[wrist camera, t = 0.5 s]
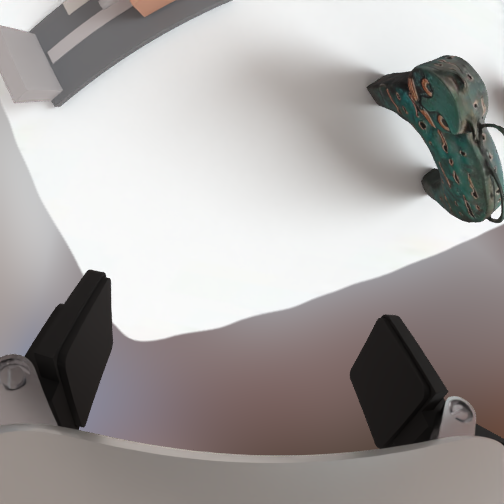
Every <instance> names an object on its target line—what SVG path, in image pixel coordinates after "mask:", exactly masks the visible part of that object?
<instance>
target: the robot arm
mask: <svg viewBox="0 0 504 504" xmlns="http://www.w3.org/2000/svg"><path fill="white" fill-rule="evenodd" d="M112 345H113V335H112V312H111V280H110V278H106V274H105V273H104V272H99V271H94V270H88V271H87V272H86V273H85V275H84V276H83V278H82V279H81V281H80V282H79V283H78V285H77V286H76V288H75V289H74V290H73V292H72V293H71V295H70V296H69V298H68V299H67V301H66V302H65V304H59V305H58V306H57V307H56V308H55V310H54V311H53V313H52V314H51V315H50V317H49V319H48V320H47V322H46V323H45V325H44V326H43V328H42V329H41V331H40V332H39V334H38V336H37V337H36V339H35V340H34V342H33V343H32V345H31V347H30V348H29V350H28V352H27V353H26V355H25V357H24V356H21V355H16V354H11V355H5V356H2V357H0V504H504V439H503V438H501V437H499V436H498V435H496V434H494V433H492V432H490V431H488V430H487V429H485V428H483V427H481V426H479V425H478V424H476V413H475V411H474V409H473V407H472V406H471V405H470V404H469V403H468V402H467V401H466V400H464V399H462V398H460V397H456V396H452V397H449V398H448V399H447V400H446V401H445V400H444V396H445V395H446V394H447V393H448V390H447V389H446V387H445V386H444V384H443V382H442V381H441V379H440V378H439V376H438V374H437V373H436V371H435V370H434V368H433V367H432V365H431V363H430V362H429V360H428V359H427V357H426V356H425V354H424V353H423V351H422V349H421V348H420V346H419V345H418V343H417V342H416V340H415V339H414V337H413V336H412V335H411V333H410V331H409V330H408V329H407V327H406V326H405V324H404V323H403V321H402V320H401V319H400V317H399V316H396V315H383V316H382V317H381V318H379V319H378V320H377V321H376V324H375V325H374V327H373V329H372V332H371V333H370V335H369V337H368V339H367V341H366V343H365V345H364V347H363V348H362V350H361V352H360V354H359V356H358V358H357V359H356V361H355V363H354V365H353V367H352V368H351V371H350V379H351V381H352V384H353V387H354V389H355V391H356V394H357V397H358V399H359V402H360V405H361V407H362V409H363V412H364V415H365V418H366V420H367V423H368V426H369V428H370V431H371V434H372V436H373V439H374V442H375V444H376V446H377V447H378V448H380V449H376V450H368V451H359V452H348V453H337V454H323V455H322V454H321V455H294V456H266V455H265V456H264V455H263V456H262V455H238V454H223V453H209V452H200V451H190V450H183V449H176V448H169V447H162V446H156V445H150V444H143V443H138V442H132V441H127V440H122V439H118V438H113V437H108V436H104V435H100V434H94V433H90V432H85V431H81V430H79V427H85V425H86V422H87V419H88V416H89V412H90V410H91V406H92V403H93V400H94V397H95V394H96V392H97V389H98V386H99V383H100V380H101V377H102V374H103V371H104V369H105V366H106V363H107V361H108V358H109V355H110V353H111V350H112Z"/></svg>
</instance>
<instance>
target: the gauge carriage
mask: <svg viewBox="0 0 504 504" xmlns="http://www.w3.org/2000/svg"><path fill="white" fill-rule="evenodd" d="M118 1H119V0H100V1H98V2H99V4H100V6H101V7H102V8H103V9H104V10H105V9H107V8H108V7H110V6H111V5H113V4H115V3H116V2H118ZM173 1H175V0H130V2H131V4H132V5H133V6H134V7H135V8H136V9H137V10H138V11H139V12H140V13H141V14H142V15H143V16H144V17H146V16H148V15H150V14H151V13H153V12H155V11H157V10H158V9H160V8H162V7H164V6H166V5H168V4H169V3H171V2H173Z"/></svg>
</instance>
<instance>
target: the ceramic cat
mask: <svg viewBox="0 0 504 504" xmlns="http://www.w3.org/2000/svg"><path fill="white" fill-rule="evenodd" d="M367 89H368V90H369V92H370V93H371V95H372V97H373V98H374V100H375V101H376V103H377V104H378V105H379V106H382V107H385V108H387V109H390V110H392V111H394V112H395V113H397V114H398V115H399V116H400V117H402V118H403V119H405V120H406V121H408V122H409V123H410V124H411V125H412V126H413V127H414V128H415V130H416V131H417V132H418V133H419V134H420V135H421V137H422V138H423V140H424V142H425V143H426V145H427V146H428V148H429V150H430V152H431V154H432V156H433V159H434V161H435V163H436V165H437V167H438V169H435V168H434V169H433V170H431V171H430V172H429V173H428V174H426V175H425V176H424V177H423V179H422V184H423V188H424V190H425V191H426V193H427V194H428V195H429V196H430V197H431V198H433V199H434V200H435V201H437V202H438V203H439V204H440V205H441V206H442V207H443V208H444V209H446V210H447V211H448V212H449V213H450V214H451V215H453V216H455V217H457V218H458V219H460V220H462V221H466V222H469V223H470V222H475V223H476V222H481V221H484V220H485V219H488V220H489V221H491V222H494V223H500V222H502V221H503V219H504V179H503V171H502V166H501V162H500V159H499V155H498V153H497V150H496V147H495V144H494V142H493V140H492V137H491V136H490V134H489V132H488V130H487V128H486V127H494V128H497V129H498V130H499V131H500V132H501V133H502V134H503V135H504V128H502V127H501V126H497V125H495V124H486V123H485V122H484V120H485V117H486V114H487V111H488V94H487V90H486V87H485V84H484V83H483V81H482V79H481V78H480V76H479V75H478V73H477V72H476V71H475V70H474V68H473V67H472V66H471V65H470V64H469V63H468V62H466V61H465V60H463V59H462V58H460V57H457V56H449V55H445V56H442V57H439V58H437V59H435V60H432V61H429V62H426V63H423V64H420V65H418V66H416V67H415V68H414V69H413V70H412V71H409V72H403V73H392V74H387V75H385V76H384V77H382V78H380V79H378V80H377V81H375V82H374V83H372V84H371V85H369V86H368V87H367ZM500 205H501V212H502V213H501V216H500V217H499V218H498V219H493V218H491V214H492V213H493V212H494V211H495V210H496V209H497V208H498V207H499V206H500Z"/></svg>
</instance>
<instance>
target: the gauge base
mask: <svg viewBox="0 0 504 504" xmlns="http://www.w3.org/2000/svg"><path fill="white" fill-rule="evenodd" d="M98 1H100V0H66V1H65V2H63V4H61V5H60V6H59V7H58V8H56V9H55V10H54V11H53V12H52V13H50V14H49V15H48V16H47V17H46V18H44V19H43V20H42V21H41V22H40V23H39V24H38V25H36V26H35V27H34V28H33V29H32V30H31V31H30V32H26V31H22V30H18V29H14V28H9V27H5V26H1V25H0V73H1V75H2V77H3V80H4V82H5V84H6V86H7V89H8V91H9V93H10V95H11V97H12V100H13V102H14V103H22V102H36V101H52V103H53V105H54V107H60V106H61V105H63V104H64V103H65V102H66V101H67V100H69V99H70V98H71V97H72V96H74V95H75V94H76V93H77V92H78V91H80V90H81V89H82V88H84V87H85V86H86V85H87V84H89V83H90V82H91V81H93V80H94V79H95V78H97V77H98V76H99V75H101V74H102V73H104V72H105V71H106V70H108V69H109V68H111V67H112V66H113V65H115V64H116V63H118V62H119V61H121V60H122V59H124V58H125V57H127V56H128V55H130V54H131V53H133V52H135V51H136V50H138V49H139V48H141V47H143V46H144V45H146V44H147V43H149V42H151V41H152V40H154V39H156V38H158V37H159V36H161V35H163V34H165V33H166V32H168V31H170V30H172V29H174V28H175V27H177V26H179V25H181V24H183V23H185V22H187V21H189V20H191V19H193V18H195V17H197V16H199V15H201V14H203V13H205V12H207V11H209V10H211V9H214V8H216V7H218V6H220V5H222V4H225V3H227V2H229V1H232V0H175V1H173V2H171V3H169V4H168V5H166V6H164V7H162V8H160V9H158V10H157V11H155V12H153V13H151V14H150V15H148V16H146V17H144V16H143V15H142V14H141V13H140V12H139V11H138V10H137V9H136V8H135V7H134V6H133V5H132V4H131V2H130V0H119V1H118V2H116V3H115V4H113V5H111V6H110V7H108V8H107V9H105V10H104V9H103V8H102V7H101V6H100V4H99V2H98Z"/></svg>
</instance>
